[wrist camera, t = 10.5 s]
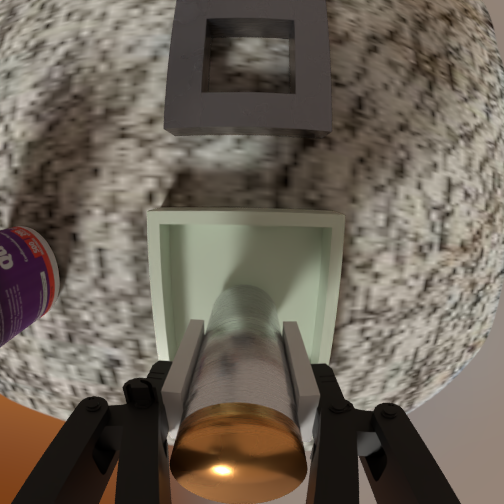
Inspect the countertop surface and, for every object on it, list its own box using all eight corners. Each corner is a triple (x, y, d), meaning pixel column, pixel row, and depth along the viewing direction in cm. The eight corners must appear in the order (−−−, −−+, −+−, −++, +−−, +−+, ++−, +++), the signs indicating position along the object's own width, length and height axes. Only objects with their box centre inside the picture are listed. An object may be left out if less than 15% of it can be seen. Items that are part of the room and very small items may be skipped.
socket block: (184, 17, 17) (176, -2, 14) (317, 19, 17) (325, 0, 14) (175, 136, 19) (163, 128, 17) (320, 138, 20) (331, 131, 17)
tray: (160, 207, 21) (146, 211, 18) (332, 210, 21) (345, 214, 18) (172, 377, 24) (164, 398, 21) (315, 380, 24) (322, 402, 21)
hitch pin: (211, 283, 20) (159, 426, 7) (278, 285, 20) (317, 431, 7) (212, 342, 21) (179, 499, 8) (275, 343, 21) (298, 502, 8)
